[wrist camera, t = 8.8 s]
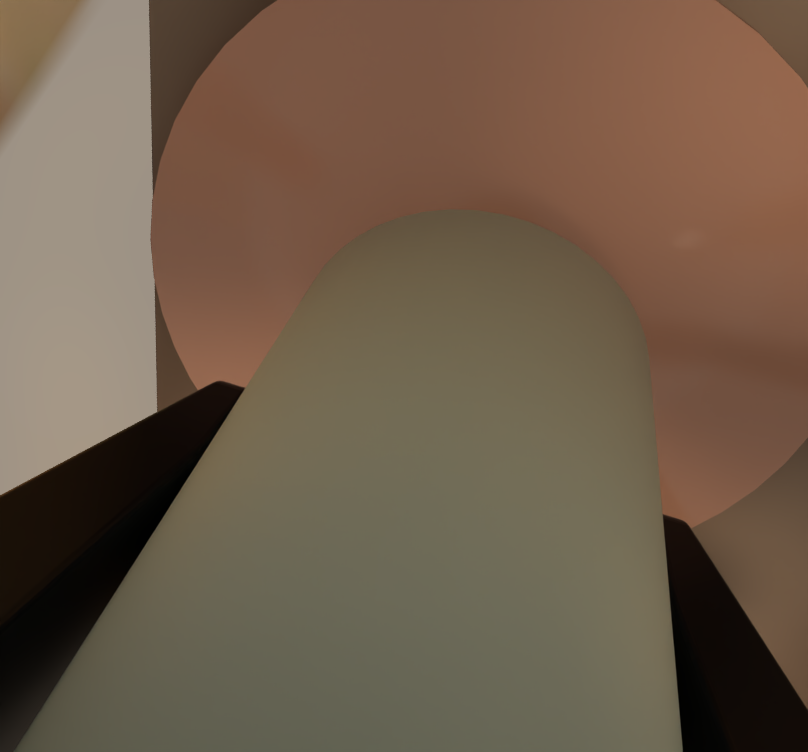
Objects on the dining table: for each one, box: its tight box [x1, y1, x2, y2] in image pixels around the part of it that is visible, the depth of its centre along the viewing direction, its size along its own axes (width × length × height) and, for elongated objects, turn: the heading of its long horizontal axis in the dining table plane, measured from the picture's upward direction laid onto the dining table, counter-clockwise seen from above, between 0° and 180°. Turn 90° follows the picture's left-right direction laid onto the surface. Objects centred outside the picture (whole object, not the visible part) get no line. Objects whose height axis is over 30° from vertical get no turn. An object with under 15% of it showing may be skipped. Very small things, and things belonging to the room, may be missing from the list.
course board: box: [149, 0, 808, 709], centre depth 11 cm, size 18×15×1 cm
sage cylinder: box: [14, 209, 683, 752], centre depth 7 cm, size 5×5×8 cm
